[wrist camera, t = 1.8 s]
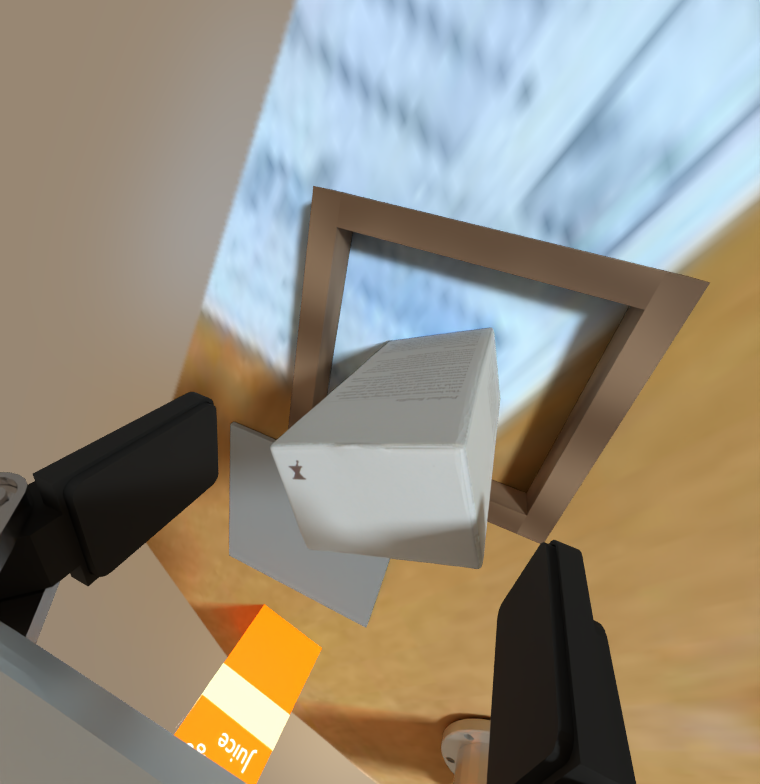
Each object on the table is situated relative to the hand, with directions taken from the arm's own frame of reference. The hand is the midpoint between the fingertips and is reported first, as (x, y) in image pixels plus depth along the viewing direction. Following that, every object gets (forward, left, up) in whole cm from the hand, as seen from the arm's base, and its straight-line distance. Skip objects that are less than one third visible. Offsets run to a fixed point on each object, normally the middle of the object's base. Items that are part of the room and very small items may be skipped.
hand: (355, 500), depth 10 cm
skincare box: (-1, 0, -13) cm, 13 cm away
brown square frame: (-1, 0, -12) cm, 12 cm away
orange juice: (-38, +8, -13) cm, 40 cm away
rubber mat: (-19, +7, -12) cm, 23 cm away
